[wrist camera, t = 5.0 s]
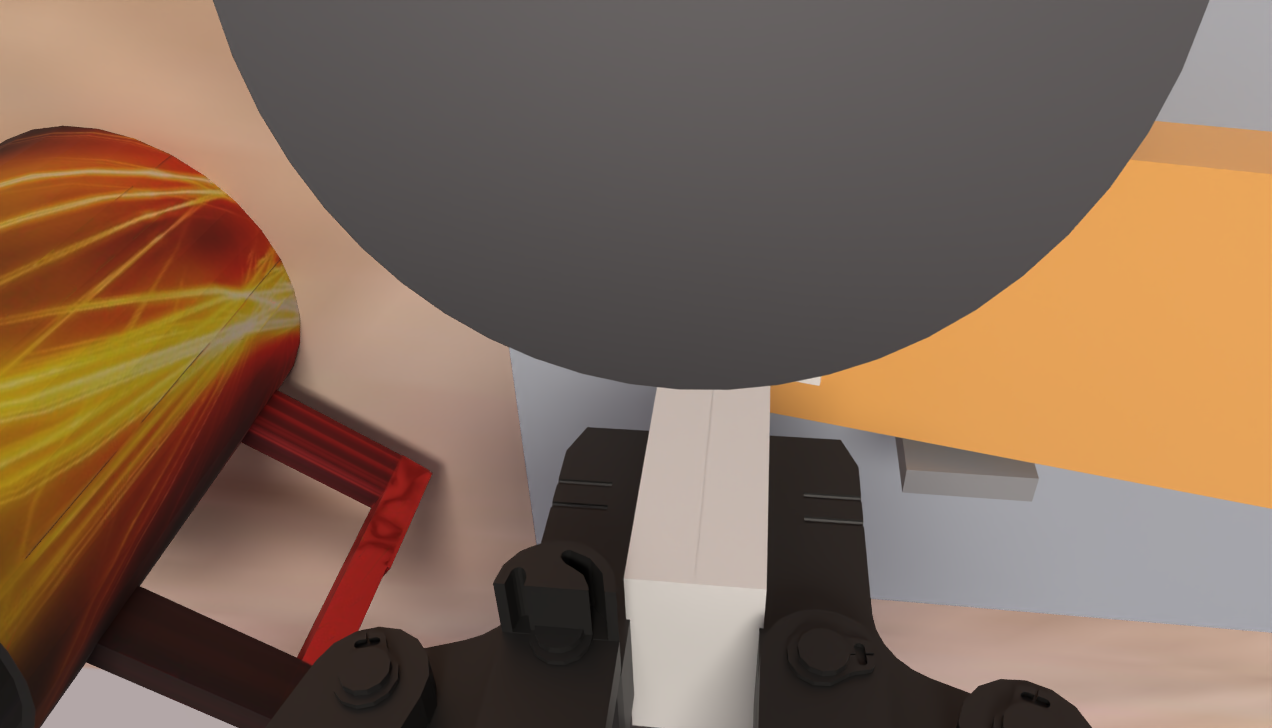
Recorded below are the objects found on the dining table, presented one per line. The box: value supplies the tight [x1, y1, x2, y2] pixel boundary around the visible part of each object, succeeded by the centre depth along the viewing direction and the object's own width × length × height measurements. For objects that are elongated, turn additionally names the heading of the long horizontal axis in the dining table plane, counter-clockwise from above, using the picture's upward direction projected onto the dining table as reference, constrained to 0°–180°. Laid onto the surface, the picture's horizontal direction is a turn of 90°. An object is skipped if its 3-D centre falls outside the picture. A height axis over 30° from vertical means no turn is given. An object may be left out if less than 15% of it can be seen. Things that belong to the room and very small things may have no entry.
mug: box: [0, 126, 432, 728], centre depth 22 cm, size 10×14×12 cm
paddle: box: [770, 121, 1272, 509], centre depth 16 cm, size 12×6×2 cm, turn 92°
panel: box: [509, 0, 1272, 633], centre depth 18 cm, size 20×24×7 cm
